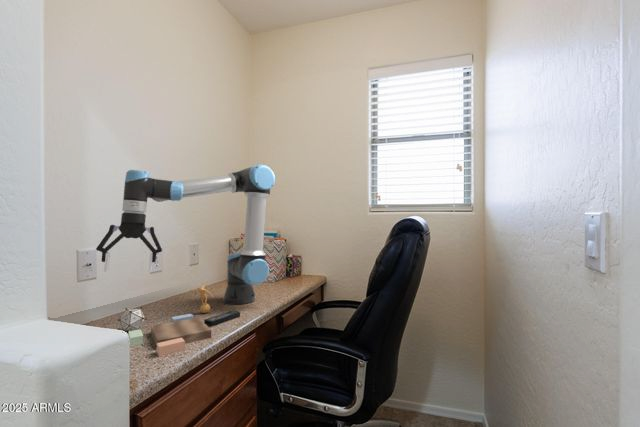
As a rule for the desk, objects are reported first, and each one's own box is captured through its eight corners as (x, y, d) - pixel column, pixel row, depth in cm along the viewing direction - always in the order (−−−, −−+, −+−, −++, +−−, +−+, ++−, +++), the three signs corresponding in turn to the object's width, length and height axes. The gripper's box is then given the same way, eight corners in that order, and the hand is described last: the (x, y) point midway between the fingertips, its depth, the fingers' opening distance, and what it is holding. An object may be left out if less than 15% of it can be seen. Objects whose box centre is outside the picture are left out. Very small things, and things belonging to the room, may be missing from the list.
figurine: (216, 312, 130) (217, 284, 130) (209, 316, 124) (209, 287, 124) (198, 311, 131) (199, 283, 132) (190, 315, 125) (191, 286, 126)
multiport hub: (203, 325, 115) (203, 319, 115) (233, 315, 127) (233, 310, 127) (211, 328, 112) (211, 321, 112) (240, 317, 125) (240, 311, 125)
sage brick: (128, 340, 100) (128, 331, 100) (140, 338, 102) (140, 329, 102) (129, 347, 94) (130, 338, 94) (142, 345, 96) (143, 335, 96)
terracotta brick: (181, 347, 95) (181, 337, 95) (184, 351, 92) (184, 341, 92) (156, 353, 90) (156, 343, 90) (159, 357, 88) (159, 347, 88)
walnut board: (198, 324, 115) (198, 317, 115) (211, 337, 102) (211, 330, 102) (150, 333, 106) (150, 325, 106) (157, 349, 93) (157, 340, 93)
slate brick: (190, 321, 119) (190, 313, 119) (193, 323, 116) (193, 315, 116) (171, 325, 114) (171, 317, 115) (173, 327, 112) (173, 319, 112)
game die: (133, 343, 106) (129, 326, 101) (114, 332, 108) (109, 315, 102) (154, 323, 113) (151, 306, 108) (135, 313, 115) (131, 296, 109)
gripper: (89, 209, 103) (83, 272, 101) (171, 215, 113) (166, 272, 112) (95, 210, 110) (89, 269, 108) (172, 215, 120) (167, 269, 119)
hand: (128, 271), depth 110 cm, fingers open, 13 cm apart
